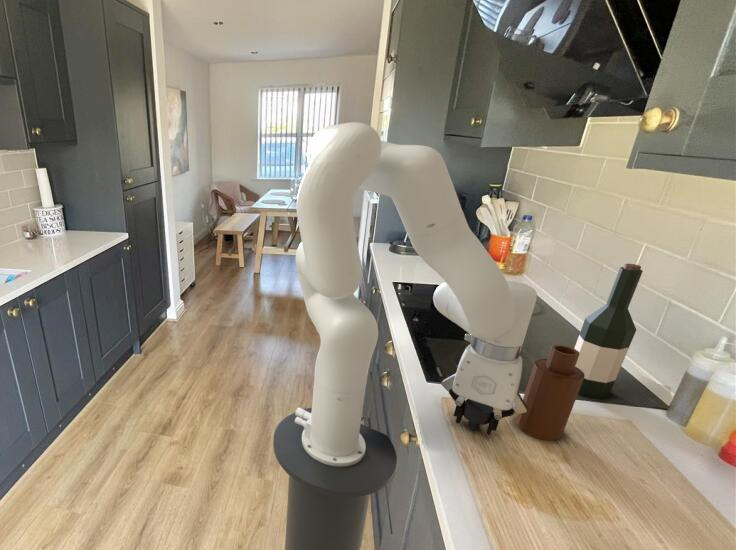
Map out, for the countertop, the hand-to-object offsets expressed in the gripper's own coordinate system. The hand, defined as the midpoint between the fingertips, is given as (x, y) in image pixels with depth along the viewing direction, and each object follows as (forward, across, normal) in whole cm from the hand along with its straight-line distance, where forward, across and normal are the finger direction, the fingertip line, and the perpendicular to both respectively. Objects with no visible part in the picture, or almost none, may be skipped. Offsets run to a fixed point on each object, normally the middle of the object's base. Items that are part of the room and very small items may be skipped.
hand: (474, 424), depth 81 cm
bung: (+1, 0, 0) cm, 1 cm away
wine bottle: (+1, +17, +32) cm, 36 cm away
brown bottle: (+1, +10, +8) cm, 13 cm away
